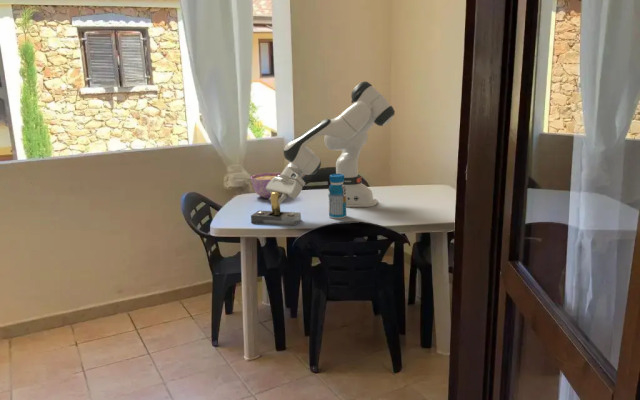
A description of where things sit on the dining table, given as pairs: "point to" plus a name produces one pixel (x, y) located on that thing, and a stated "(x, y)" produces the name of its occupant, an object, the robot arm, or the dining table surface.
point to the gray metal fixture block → (276, 218)
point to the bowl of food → (262, 183)
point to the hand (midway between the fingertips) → (274, 201)
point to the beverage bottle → (337, 197)
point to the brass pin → (275, 203)
